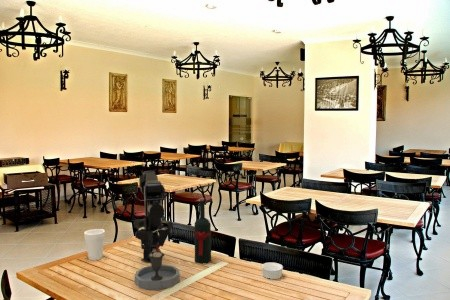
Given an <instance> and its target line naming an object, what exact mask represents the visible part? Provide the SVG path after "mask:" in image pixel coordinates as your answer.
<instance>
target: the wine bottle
mask: <svg viewBox="0 0 450 300" xmlns="http://www.w3.org/2000/svg"><path fill="white" fill-rule="evenodd" d="M205 206H206V205H205V197H200V198H199V218H197V219H196V220H195V222H194V263H195V264H196V263H197V264H198V265H199V264H201V265H203V263H206V264H210V263H211V262H212V239H211V238H212V236H211V235H212V231H211V228H212V227H211V226H212V225H211V221H210V220H209V219H208V218H207V217H205V215H206V213H205V212H206V211H205V209H206V208H205ZM210 261H211V262H210ZM209 262H210V263H209Z"/></svg>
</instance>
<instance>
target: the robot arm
mask: <svg viewBox="0 0 450 300" xmlns="http://www.w3.org/2000/svg"><path fill="white" fill-rule="evenodd" d="M138 179H139V180H138V184H139V185H138V186H139V188H140V192H141V193H142V195H143V197H144V218H143V219H140V218H137V219H135V220H133V227H134V228H135V229H137V230H136V232H134V236H135V237H134V238H135V239H137V240H139V241H140V248H141V250H142V254H143V258H141V259H140V260H141V262H146V263H151V261H150V258H149V257H148V254H150V253H152V250H153V248H156V247H157V246H158V244H159V246H158V247H159V248H160V247H164V245H165V243H166V240H167V238H168V236H169V235H170V232H171V231H172V229H173V227H174V225H173V224H174V223H173V222H172V221H171V220H164V219H163V218H164V215H165V208H164V206H163V204H162V201H165V200H166V199H165V198H166V188H165V187H164V184H162V182H161V181H160V180H159V179H158V175H157V174H156V171H155V170H145V171H143V173H142V174H141V175H140V176H139V178H138Z"/></svg>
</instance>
